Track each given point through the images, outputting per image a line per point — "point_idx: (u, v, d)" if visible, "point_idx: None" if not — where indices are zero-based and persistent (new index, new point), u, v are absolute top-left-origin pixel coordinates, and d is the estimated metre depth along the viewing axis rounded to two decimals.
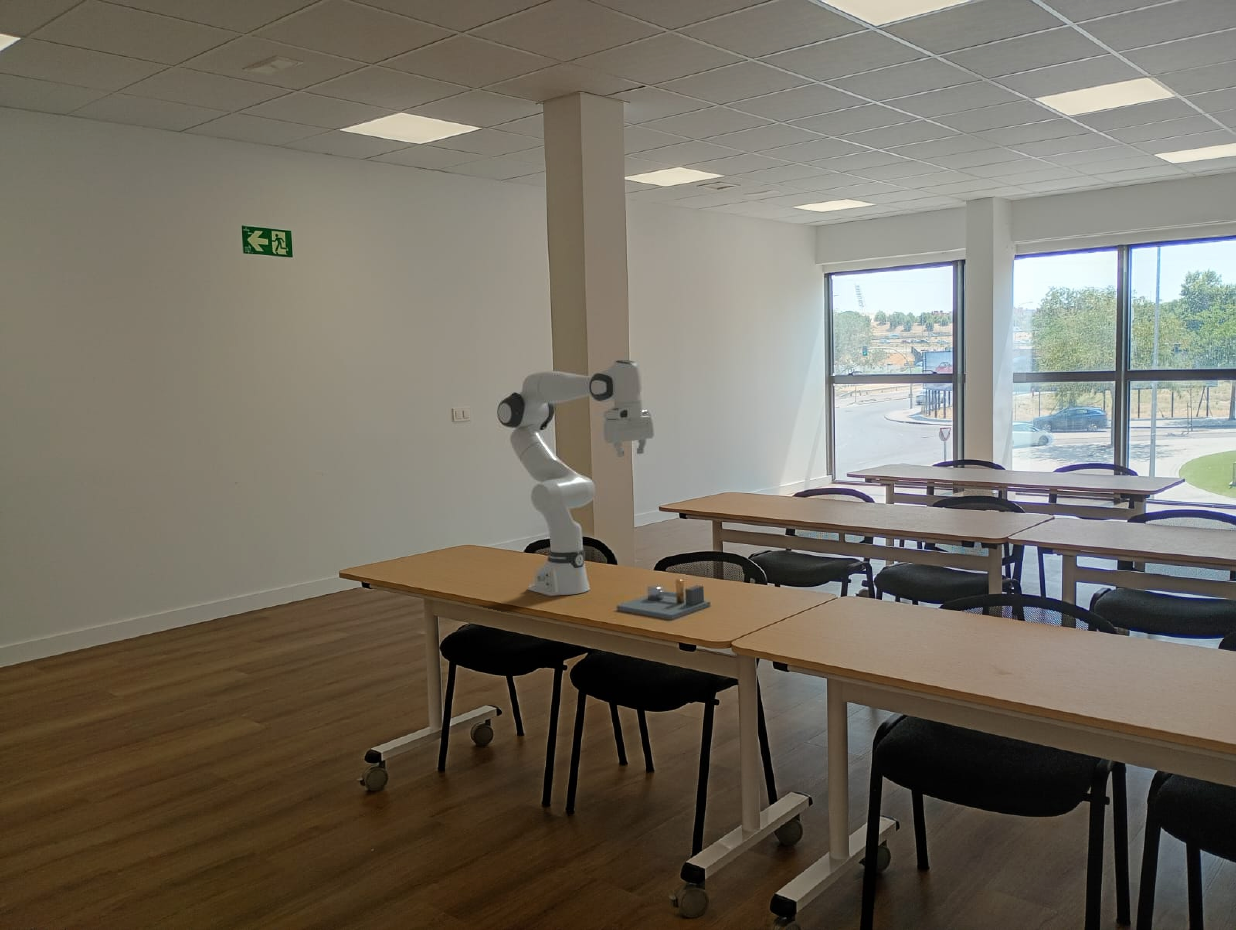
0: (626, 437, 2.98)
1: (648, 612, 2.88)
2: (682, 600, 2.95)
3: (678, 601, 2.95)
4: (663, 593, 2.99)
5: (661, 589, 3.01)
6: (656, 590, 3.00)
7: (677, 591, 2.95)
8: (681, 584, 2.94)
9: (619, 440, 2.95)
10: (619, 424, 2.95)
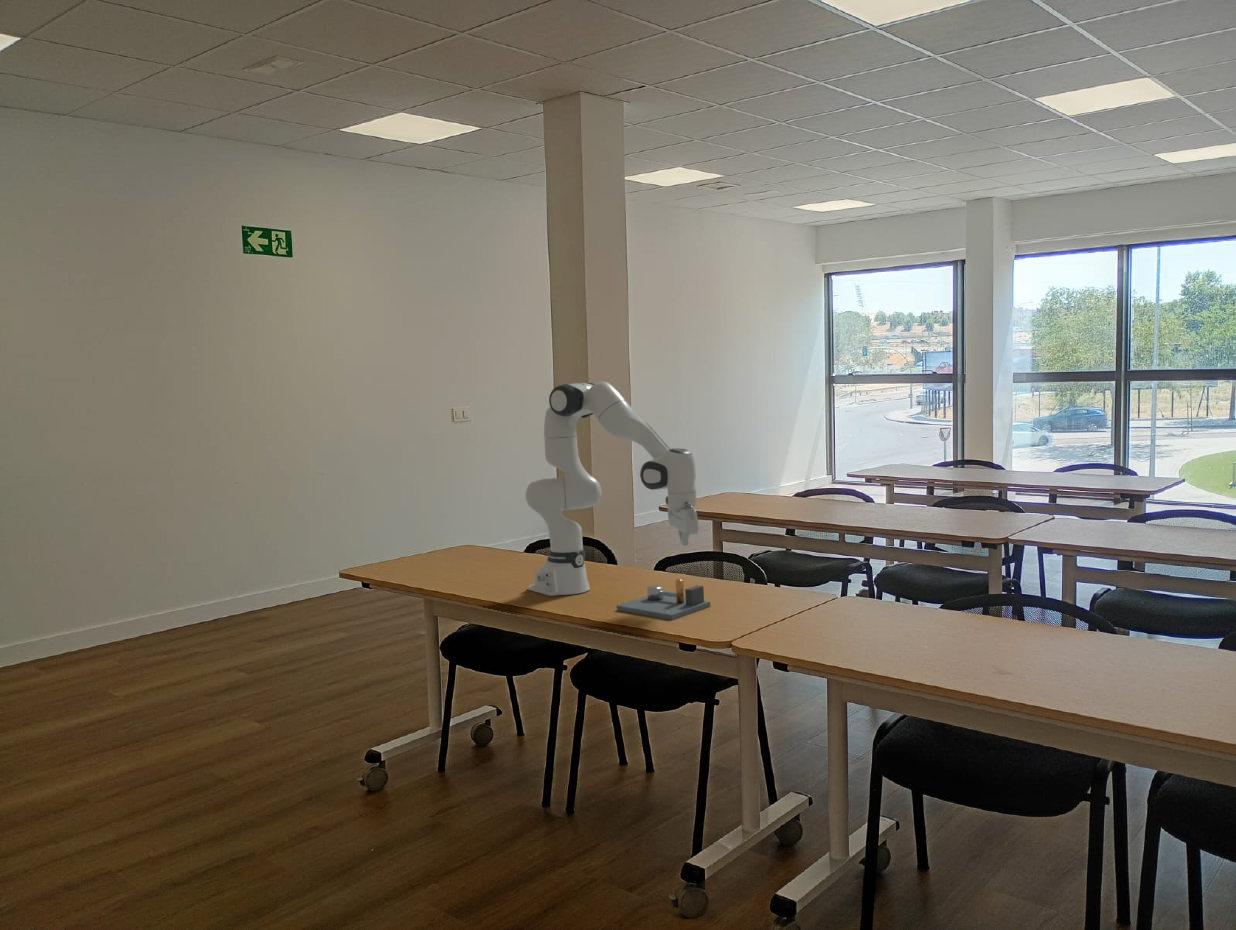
0: (674, 524, 3.00)
1: (648, 612, 2.88)
2: (682, 600, 2.95)
3: (678, 601, 2.95)
4: (663, 593, 2.99)
5: (661, 589, 3.01)
6: (656, 590, 3.00)
7: (677, 591, 2.95)
8: (681, 584, 2.94)
9: (671, 525, 3.04)
10: (671, 509, 3.03)
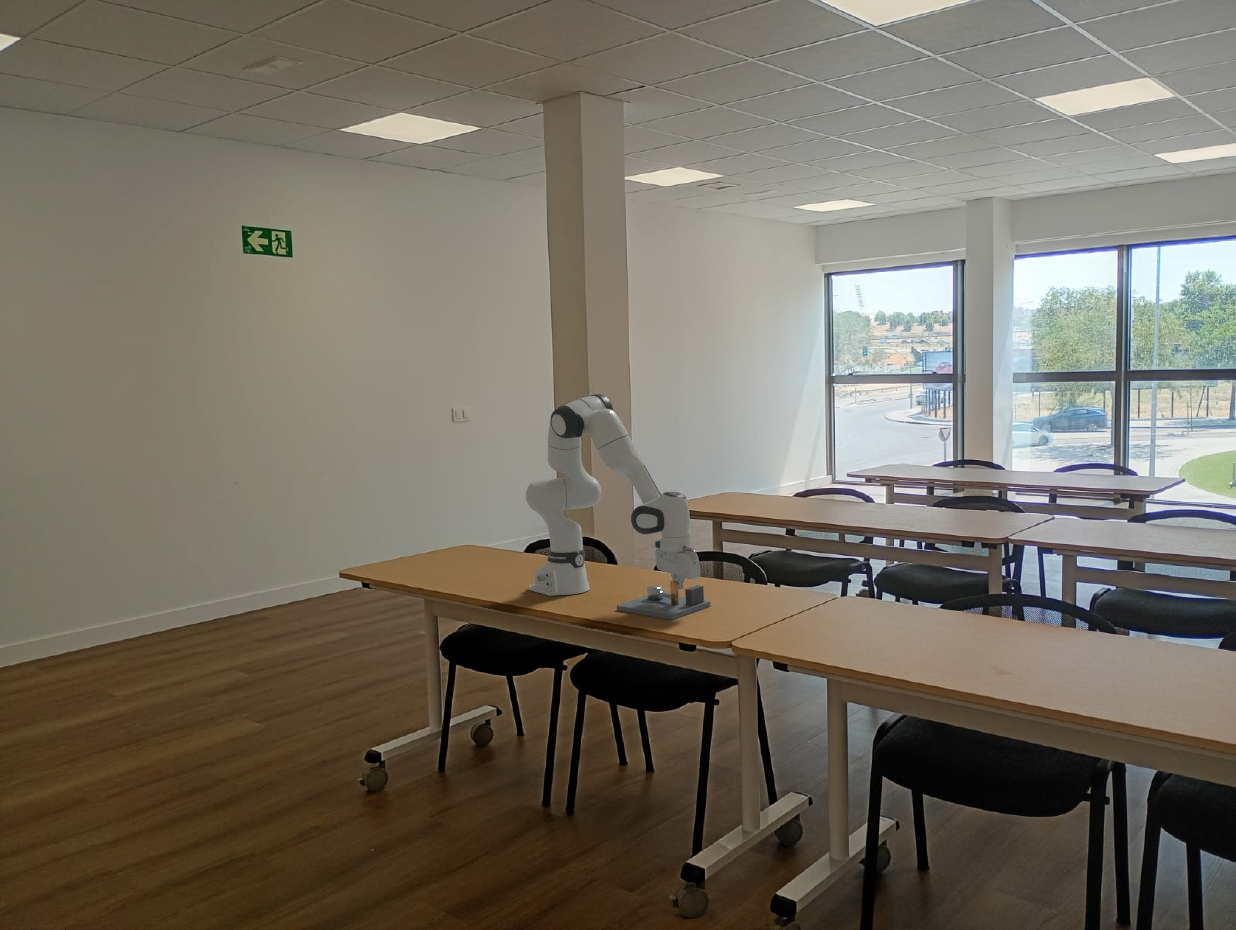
0: (667, 568, 2.97)
1: (648, 612, 2.88)
2: (676, 602, 2.93)
3: (672, 602, 2.93)
4: (660, 593, 2.99)
5: (660, 589, 3.00)
6: (654, 590, 3.00)
7: (671, 592, 2.93)
8: (675, 586, 2.92)
9: (661, 568, 3.00)
10: (661, 553, 2.99)
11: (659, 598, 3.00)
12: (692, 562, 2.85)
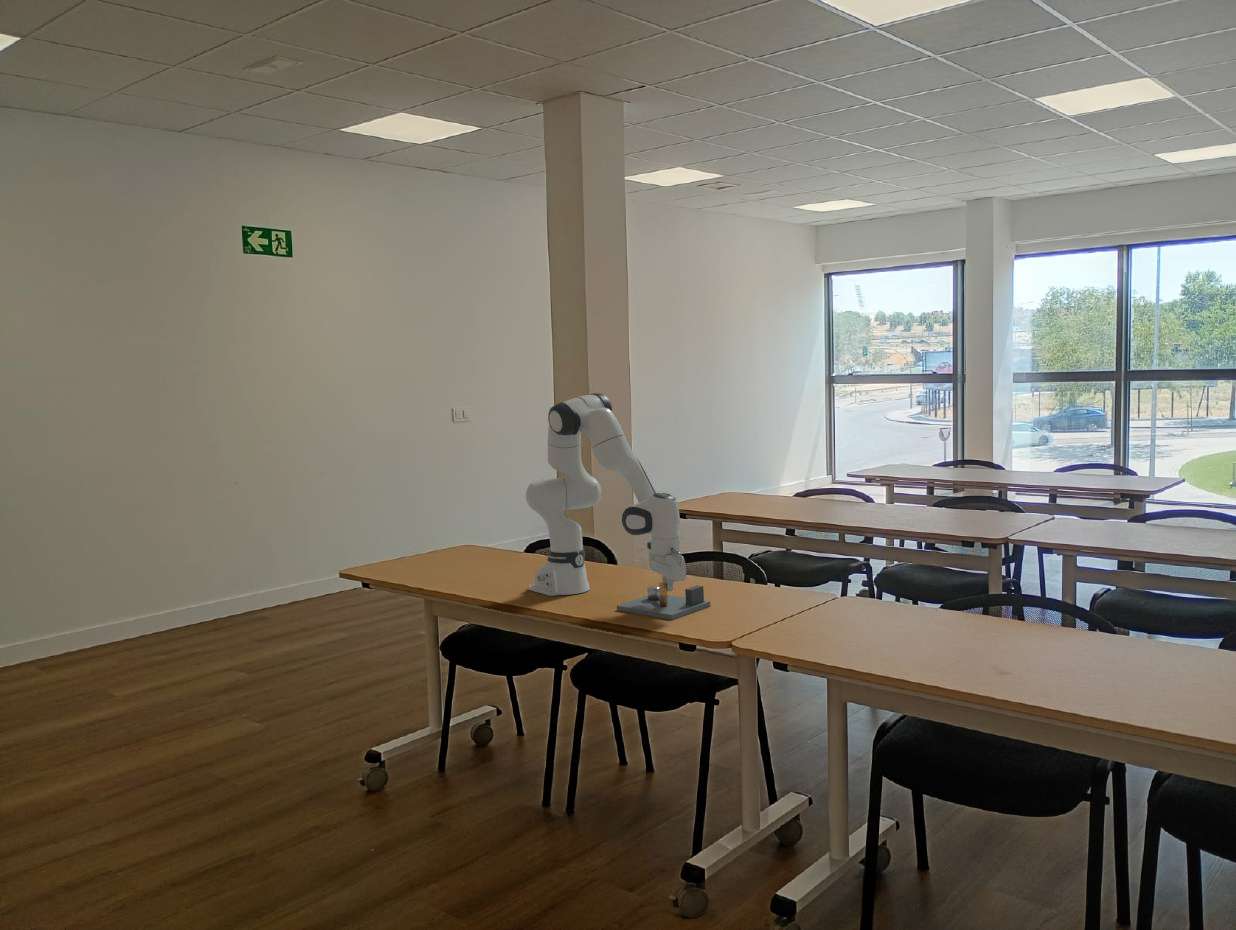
0: (657, 570, 2.95)
1: (648, 612, 2.88)
2: (663, 603, 2.91)
3: (660, 604, 2.92)
4: (656, 594, 2.98)
5: (657, 590, 3.00)
6: (651, 590, 3.00)
7: (659, 594, 2.92)
8: (662, 587, 2.91)
9: (653, 570, 2.98)
10: (653, 554, 2.98)
11: (656, 598, 3.00)
12: (677, 564, 2.83)
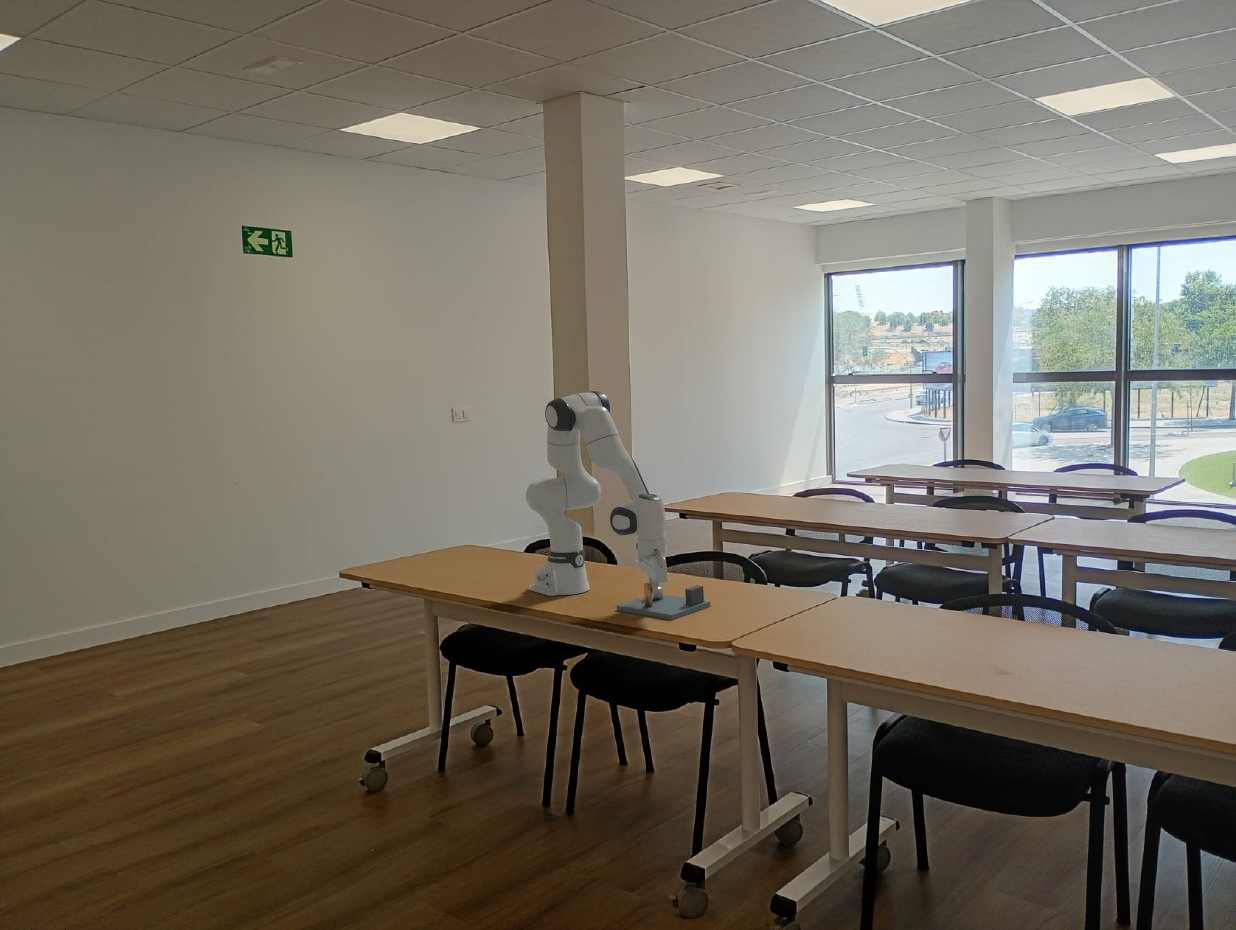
0: (644, 570, 2.95)
1: (648, 612, 2.88)
2: (646, 604, 2.92)
3: None
4: None
5: None
6: None
7: None
8: (645, 588, 2.91)
9: (642, 570, 2.98)
10: (641, 555, 2.98)
11: (652, 598, 3.00)
12: (658, 566, 2.82)
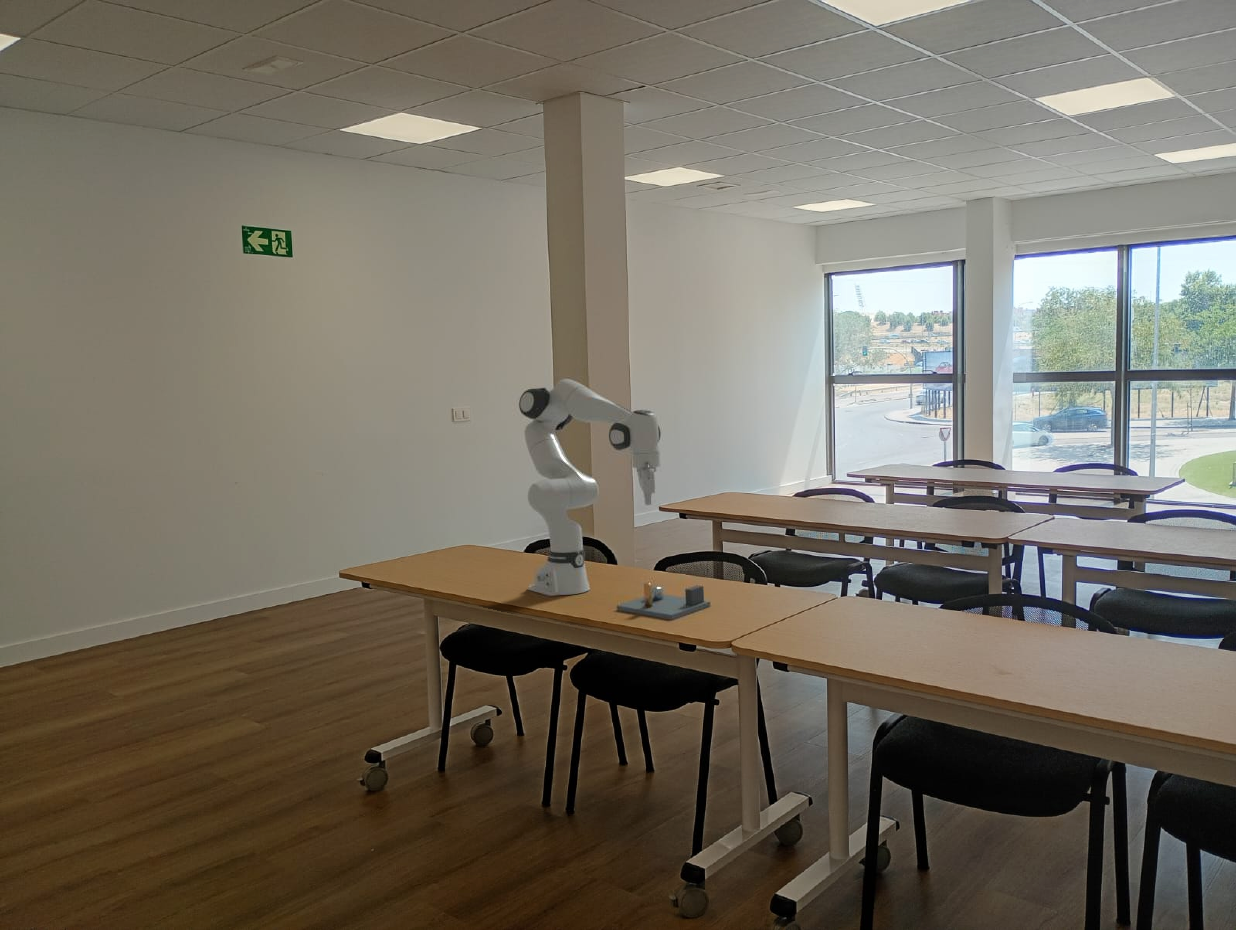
0: None
1: (648, 612, 2.88)
2: (646, 604, 2.92)
3: None
4: None
5: (653, 590, 3.00)
6: None
7: None
8: (645, 588, 2.91)
9: (640, 485, 3.11)
10: None
11: (652, 598, 3.00)
12: (646, 477, 2.94)
